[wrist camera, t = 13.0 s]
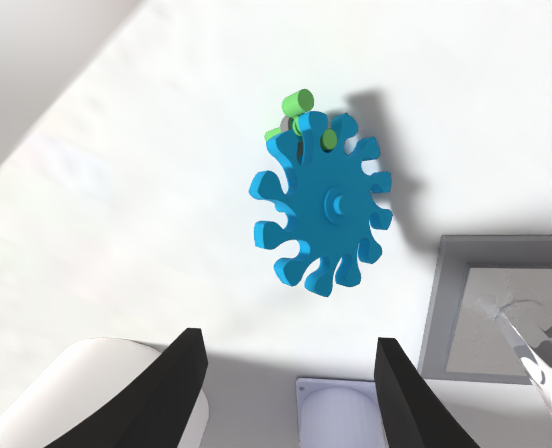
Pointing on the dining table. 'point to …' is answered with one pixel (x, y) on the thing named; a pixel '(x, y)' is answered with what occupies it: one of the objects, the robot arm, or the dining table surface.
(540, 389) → the milkshake
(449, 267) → the scale base
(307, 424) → the robot arm
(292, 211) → the gear
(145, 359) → the white tall piece
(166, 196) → the dining table surface
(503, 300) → the scale pan
